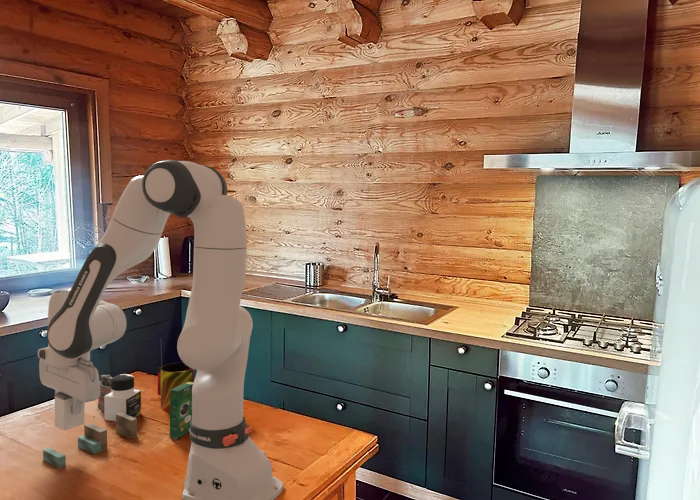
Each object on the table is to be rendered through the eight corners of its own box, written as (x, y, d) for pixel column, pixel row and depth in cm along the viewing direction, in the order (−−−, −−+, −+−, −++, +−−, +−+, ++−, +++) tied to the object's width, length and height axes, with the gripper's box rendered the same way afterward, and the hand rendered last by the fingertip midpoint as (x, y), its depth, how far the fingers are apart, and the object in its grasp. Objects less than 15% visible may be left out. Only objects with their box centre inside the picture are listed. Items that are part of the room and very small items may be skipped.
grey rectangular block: (84, 423, 130) (84, 391, 129) (64, 430, 125) (63, 397, 125) (75, 419, 132) (75, 388, 131) (54, 426, 128) (54, 393, 127)
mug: (159, 397, 169) (158, 360, 168) (199, 401, 166) (199, 363, 165) (141, 408, 159) (141, 369, 158) (184, 413, 157) (184, 373, 156)
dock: (137, 437, 140) (136, 418, 140) (59, 468, 123) (58, 447, 123) (120, 430, 144) (120, 412, 144) (43, 459, 127) (42, 439, 126)
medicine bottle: (126, 423, 149) (126, 381, 148) (104, 420, 150) (103, 379, 149) (141, 413, 156) (141, 373, 155) (119, 410, 157) (119, 371, 156)
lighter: (94, 406, 159) (94, 374, 159) (105, 403, 162) (105, 371, 161) (110, 413, 155) (109, 380, 154) (120, 410, 158) (120, 377, 157)
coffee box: (187, 426, 148) (187, 380, 147) (196, 427, 147) (196, 381, 146) (168, 438, 140) (168, 389, 139) (178, 439, 139) (178, 391, 138)
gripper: (107, 359, 124) (107, 417, 125) (59, 344, 135) (60, 396, 136) (81, 366, 119) (81, 426, 120) (33, 349, 130) (34, 404, 131)
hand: (69, 410), depth 128 cm, fingers closed on grey rectangular block, 4 cm apart
